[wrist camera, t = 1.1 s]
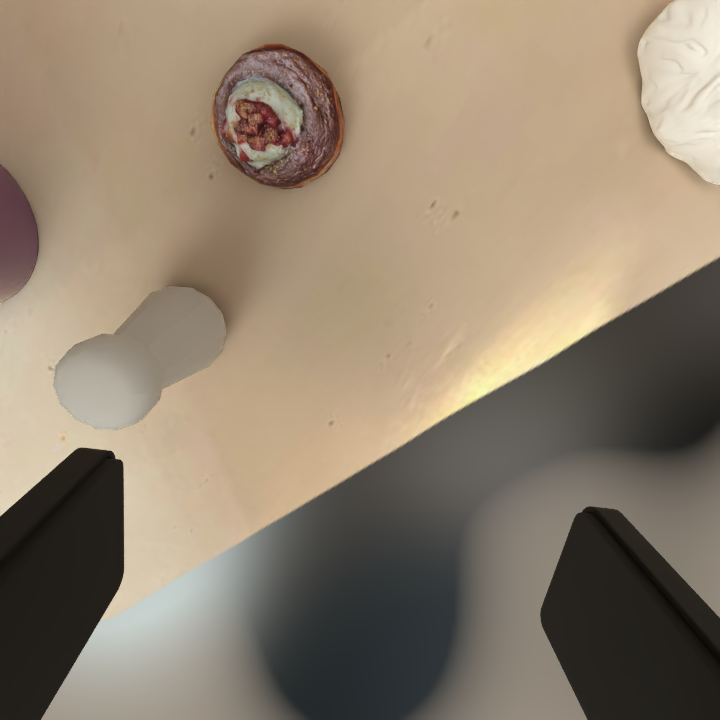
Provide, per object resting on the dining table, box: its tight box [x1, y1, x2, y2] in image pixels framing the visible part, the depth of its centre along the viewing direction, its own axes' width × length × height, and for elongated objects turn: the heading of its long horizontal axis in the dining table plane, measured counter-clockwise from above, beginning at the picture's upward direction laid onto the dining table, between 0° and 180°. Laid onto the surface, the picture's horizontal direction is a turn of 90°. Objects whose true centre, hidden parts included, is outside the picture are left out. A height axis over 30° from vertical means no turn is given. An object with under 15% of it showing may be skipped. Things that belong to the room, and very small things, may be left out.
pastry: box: [211, 44, 344, 189], centre depth 25 cm, size 8×8×5 cm
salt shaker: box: [54, 286, 227, 430], centre depth 25 cm, size 6×6×13 cm
